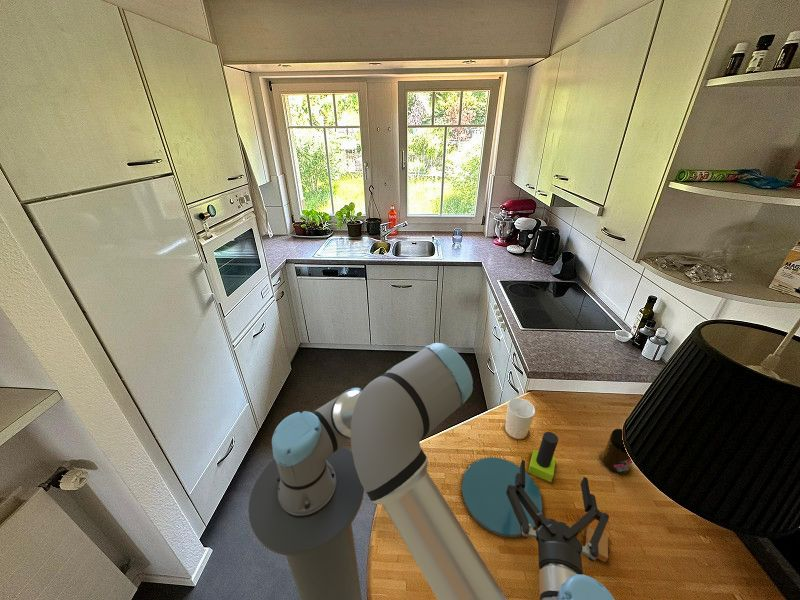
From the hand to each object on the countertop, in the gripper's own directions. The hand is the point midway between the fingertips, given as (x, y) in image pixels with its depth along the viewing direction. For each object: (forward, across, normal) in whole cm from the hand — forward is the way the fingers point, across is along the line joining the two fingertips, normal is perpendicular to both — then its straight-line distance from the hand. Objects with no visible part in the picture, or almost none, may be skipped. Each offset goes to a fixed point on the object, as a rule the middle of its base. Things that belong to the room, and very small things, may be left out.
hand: (552, 471), depth 77 cm
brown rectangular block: (-7, +11, -12) cm, 18 cm away
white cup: (+21, -7, -12) cm, 25 cm away
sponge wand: (+10, 0, -12) cm, 15 cm away
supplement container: (+18, +20, -12) cm, 30 cm away
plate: (-2, -10, -12) cm, 16 cm away
